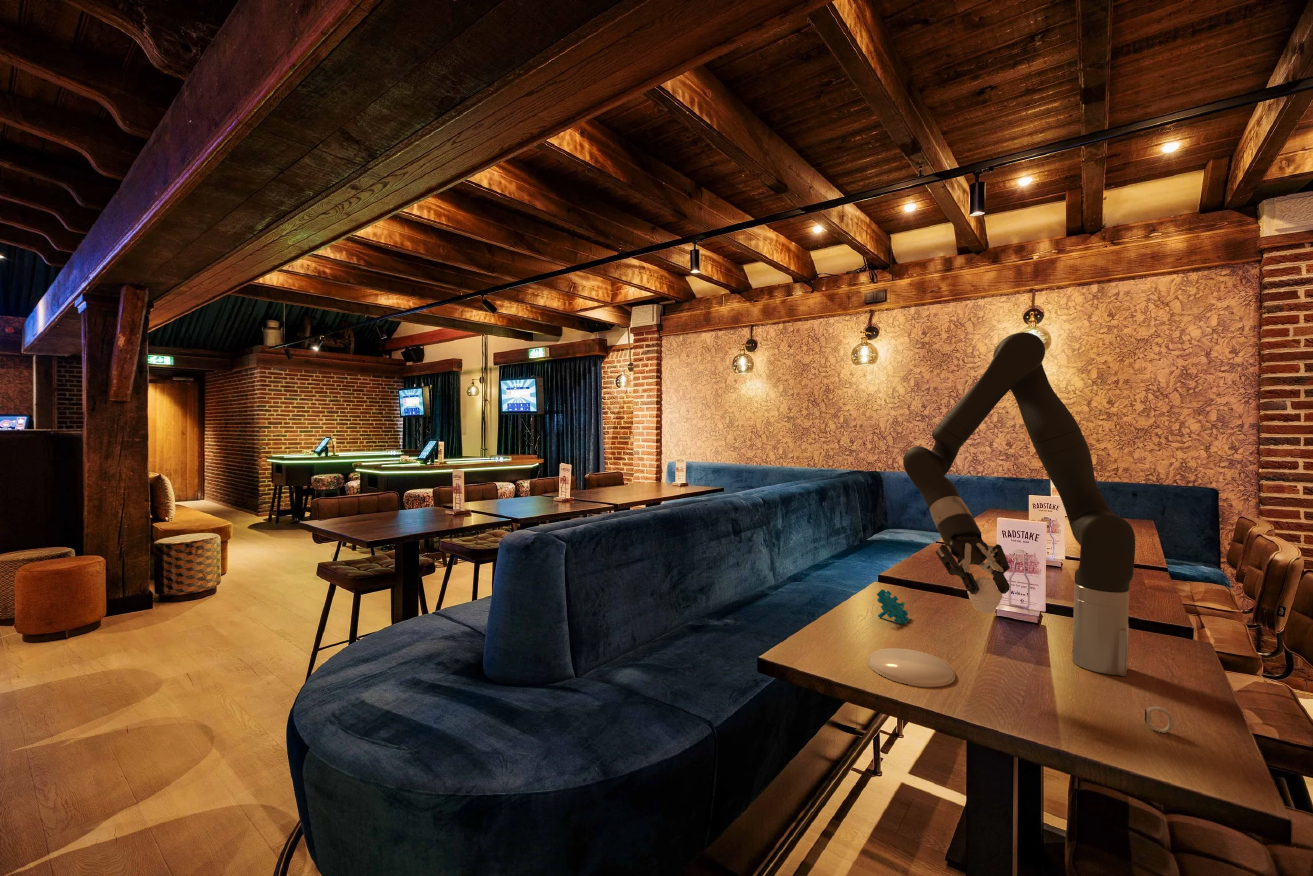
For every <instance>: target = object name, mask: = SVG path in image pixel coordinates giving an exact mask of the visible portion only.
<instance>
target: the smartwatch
mask: <svg viewBox="0 0 1313 876" xmlns="http://www.w3.org/2000/svg"><path fill="white" fill-rule="evenodd" d="M1153 711H1159V712H1161V713H1163V714H1165V715H1167V718H1168V719H1167V720H1168V722H1167V726H1165V728H1159V729H1160V730H1156V729H1155V728H1156V727H1155V726H1153V725H1152V724H1151V722H1152V721H1151V720H1152V715H1151V712H1153ZM1144 722H1145V725H1146V726H1148V727H1149V729H1151V730H1153V731H1154V730H1155V731H1154V732H1156V731H1158V732H1157V733H1160V732H1162V733H1161V734H1164V733H1165V734H1167V733H1170V731H1172V730H1173V728H1174V724H1175V723H1174V719H1173V717H1172V714H1171V713H1170V712H1169V711H1168V709H1166V708H1163V707H1162V706H1158V705H1154V706H1149V707H1147V708H1145V709H1144Z"/></svg>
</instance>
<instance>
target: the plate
mask: <svg viewBox="0 0 1313 876" xmlns="http://www.w3.org/2000/svg"><path fill="white" fill-rule="evenodd" d="M867 658H868V659H867V665H868V664H869V665H868V667H869V666H870V667H869V668H870V669H871V670H872V669H873V670H874V671H875V672H877V673H878V674H877V673H876V674H877V675H879V674H880V675H882V676H884V677H886V678H885V679H887V680H889V679H890V680H889V681H892V680H893V682H895V681H896V682H895V683H898V682H899V684H902V683H904V684H903V685H906V684H908V685H907V686H913V687H920V688H921V687H922V688H940V687H945V686H949V685H950V684H951V685H952V683H953V682H955V680H956V672H955V670H954V668H953V667H952V666H951V664H949V663H948V662H947V661H946V660H944V659H942V658H939V657H937V656H935V655H933V654H930V653H926V652H922V651H920V650H914V649H908V648H898V647H897V648H896V647H894V648H893V647H891V648H890V647H889V648H888V647H887V648H881V649H876V650H875V651H873V652H871V654H870V655H869V656H868V657H867ZM873 670H872V671H873ZM874 671H873V672H874ZM875 672H874V673H875ZM880 675H879V676H880ZM882 676H881V677H882ZM884 677H883V678H884Z"/></svg>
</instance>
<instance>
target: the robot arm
mask: <svg viewBox="0 0 1313 876" xmlns="http://www.w3.org/2000/svg"><path fill="white" fill-rule="evenodd" d="M992 356H993V357H992V360H991V362H990V363H989V365H988V366H987V368H986V369H985V371H984V372H983V374H982V375H981V376H980V377H979V378H978V380H977V382H975V383H974V385H973V386H972V387H971V388H970V389H969V390H968V391H967V392H966V393H965V394H964V395H963V396H962V397H961V398H960V399H959V401H957V403H955V404H954V406H953V407H951V409H950V410H949V411H948V412H947V413H946V414H945V416H944V417H943V418H942V419H941V421H940V422H939V423H938V425H937V426H936V427H934V429H933V431H932V432H931V437H932V439H933V440H934V442H935V443H934V445H933V447H932V449H928V448H926V447H924V446H918V445H917V446H912V447H910V448H909V449H907V450H906V451H905V453H904V455H903V459H902V460H903V461H902V463H903V468H904V470H905V473H906V474H907V476H908V477H909V479H910V480H911V482H912V483H913V484H914V486H915V487H916V488H917V490H918V491H919V492H920V494H921V496H922V497H923V500H924V502H925V504H926V507H927V508H928V511H929V512H930V515H931V518H932V521H933V523H934V525H935V528H936V529H937V531H938V533H939V535H940V537H941V539H942V541H943V543H944V544H941V545H940V546H939V547H938V549H937V550H936V551H935V554H936V555H937V557H938V558H939V560H940V562H941V563H942V564H943V567H944V568H945V569H946V571H947V573H948V575H950V576H957V577H958V578H960V579H961V582H962V583H963V586H965V589H966V591H967V590H968V591H969V592H970V594H976V593H977V592H978V591H979V587H978V585H977V583H976V581H975V580H976V578H975V577H974V575H973V573H972V572H971V570H970V569H971V568H970V567H971V565H975V566H978V567H979V568H980V569H981V570H983V571H986V572H987V573H988V574H989V575H990V576H991V577H992V578H991V579H993V580H994V581H995V586H996V587H997V588H998V590H999V591H1000V592H1001V593H1002V595H1003V594H1004V595H1005V594H1007V593H1008V592H1009V591H1010V588H1011V586H1010V583H1009V582H1008V580H1007V578H1006V576H1005V573H1006V572H1007V571H1008V570H1009V569H1010V568H1011V566H1010V564H1009V562H1008V559H1007V558H1006V554H1005V552H1004V550H1003V547H1002V546H1001V545H1000V544H999V543H997V544H995V545H994V546H993V545H988V544H987V543H986V542H985V541H984V540H983V538H982V537H983V536H982V531H981V530H980V527H979V526H978V524H977V522H976V521H975V519H974V517H973V514H972V513H971V511H970V510H969V507H968V506H967V504H966V503H965V502H964V501H963V499H962V498H961V496H960V493H959V492H958V490H957V487H956V486H955V485H954V484H953V482H952V481H951V480H949V478H947V477H946V475H947V474H948V473H949V471H950V469H951V468H952V466H953V464H954V461H955V460H956V458H957V456H958V453H959V451H960V449H961V447H962V446H963V445H965V443H966V442H967V441H968V439H969V438H970V437H971V436H972V435H973V434H974V432H976V430H977V429H978V428H979V426H980V425H982V422H984V421H985V419H986V418H987V416H988V415H989V414H990V413H991V412H992V410H994V408H995V407H996V405H997V404H998V403H999V402H1000V401H1001V400H1002V399H1003V398H1004V397H1005V396H1006V395H1007V393H1008V392H1009V391H1010V392H1011V393H1012V395H1013V396H1014V399H1015V401H1016V404H1017V406H1018V408H1019V413H1020V414H1021V419H1022V420H1023V424H1024V426H1025V430H1027V433H1028V436H1029V439H1030V442H1031V443H1032V447H1033V448H1034V450H1035V452H1036V454H1037V455H1036V456H1038V458H1039V461H1040V463H1041V464H1042V466H1043V469H1044V470H1045V472H1046V474H1047V476H1048V478H1049V479H1050V481H1051V483H1052V484H1053V486H1054V488H1055V489H1056V491H1057V493H1058V495H1059V498H1060V500H1061V503H1062V505H1063V507H1064V508H1063V509H1064V511H1065V514H1066V517H1067V521H1068V524H1069V526H1070V530H1071V532H1072V535H1073V538H1074V539H1075V541H1076V542H1077V544H1078V545H1080V550H1079V551H1080V552H1079V565H1078V567H1077V569H1076V570H1075V571H1074V582H1073V583H1074V585H1073V589H1074V591H1073V622H1072V652H1071V653H1072V656H1071V657H1072V659H1071V660H1072V662H1073V663H1074V664H1075V665H1076V666H1078V667H1080V668H1083V669H1086V670H1088V671H1093V672H1095V673H1100V674H1105V675H1106V674H1107V675H1114V676H1122V677H1126V676H1127V671H1128V662H1129V661H1128V659H1129V658H1128V656H1129V633H1130V632H1129V627H1130V624H1129V602H1130V601H1129V599H1130V583H1131V581H1132V579H1133V577H1134V571H1135V570H1134V569H1135V559H1136V533H1135V531H1134V529H1133V527H1132V525H1131V524H1130V523H1129V521H1127V520H1126V519H1124V518H1122V517H1121V516H1119V515H1116V514H1114V512H1113V511H1112V510H1111V509H1110V507H1109V505H1108V503H1107V502H1106V500H1105V498H1104V497H1103V495H1102V493H1101V491H1100V489H1099V487H1098V484H1097V482H1096V481H1097V480H1096V477H1095V471H1094V463H1093V458H1092V454H1091V451H1090V448H1089V444H1088V443H1087V441H1086V438H1085V436H1084V434H1083V432H1082V430H1081V428H1080V426H1079V424H1078V422H1077V420H1076V419H1075V417H1074V416H1073V414H1072V413H1071V411H1070V410H1069V409H1068V407H1067V406H1066V404H1065V403H1064V402H1063V401H1062V400H1061V398H1060V397H1059V396H1058V395H1057V393H1056V392H1055V391H1054V389H1053V387H1052V385H1051V383H1050V381H1049V379H1048V375H1047V374H1046V372H1045V371H1046V370H1045V368H1044V365H1043V361H1044V359H1045V356H1046V347H1045V343H1044V342H1043V340H1042V339H1041V338H1040V337H1039V336H1038V335H1036V334H1034V333H1031V332H1025V331H1023V332H1016V333H1012V334H1010V335H1008V336H1006V337H1005V338H1003V339H1002V340H1001V341H1000V342H999V343H998V344H997V345H996V347H995V349H994V351H993V355H992ZM955 558H956V559H955ZM986 560H987V561H986ZM985 561H986V562H985Z"/></svg>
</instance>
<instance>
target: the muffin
mask: <svg viewBox="0 0 1313 876" xmlns="http://www.w3.org/2000/svg"><path fill="white" fill-rule="evenodd" d="M975 581H976V583H977V585H978V587H979V591H978V592H977V593H976V594H970V592H969V591H968V590H967V589H966V591H967V595H968V598H969V600H970V603H971V604H972V606H973V608H974V610H975V611H976V612H980V613H984V614H992V613H994V612H995V611H996V609H997V608H998V606H999V605H1000V603H1001V600H1003V594H1002V593H1001V592H1000V591H999V590H998V588H997V586H996V584H995V581H994V580H993V579H992V578H991V577H987V576H978V577H976V578H975Z"/></svg>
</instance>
